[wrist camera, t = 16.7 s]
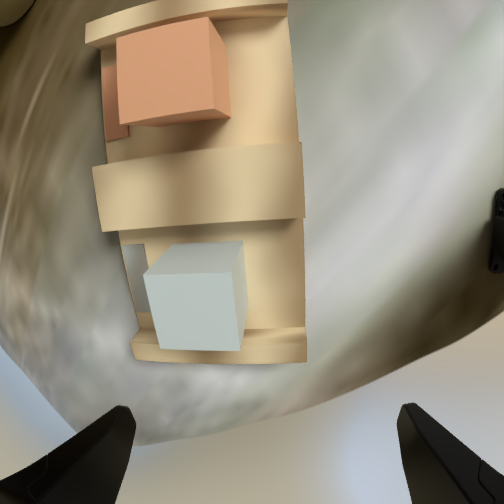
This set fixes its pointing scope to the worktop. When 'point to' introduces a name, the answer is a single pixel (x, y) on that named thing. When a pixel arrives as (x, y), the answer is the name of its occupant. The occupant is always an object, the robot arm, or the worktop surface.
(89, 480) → the robot arm
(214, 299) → the blue-grey block
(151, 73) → the terracotta block
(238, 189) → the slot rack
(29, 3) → the squeeze bottle
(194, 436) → the worktop surface
